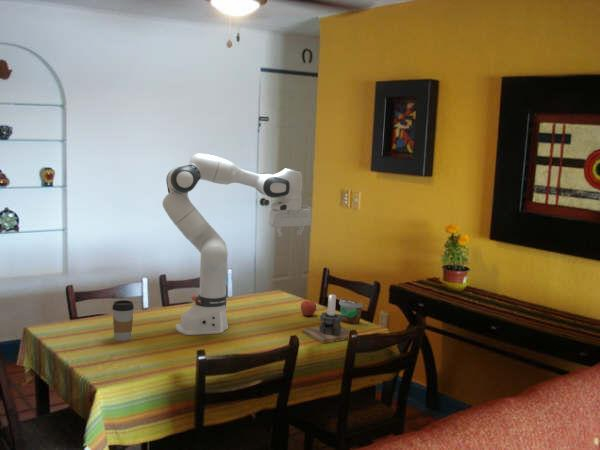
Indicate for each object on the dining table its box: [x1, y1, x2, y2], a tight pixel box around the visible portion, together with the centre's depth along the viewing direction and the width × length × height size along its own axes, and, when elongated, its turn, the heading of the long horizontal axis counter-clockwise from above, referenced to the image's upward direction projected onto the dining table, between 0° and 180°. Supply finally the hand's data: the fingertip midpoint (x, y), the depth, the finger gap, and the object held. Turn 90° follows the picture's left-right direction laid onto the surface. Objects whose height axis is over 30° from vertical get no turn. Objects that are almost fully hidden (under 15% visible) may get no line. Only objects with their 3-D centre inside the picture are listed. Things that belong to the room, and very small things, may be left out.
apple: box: [300, 300, 317, 317], centre depth 322 cm, size 7×7×8 cm
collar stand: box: [301, 311, 351, 344], centre depth 294 cm, size 18×16×8 cm
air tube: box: [326, 293, 337, 328], centre depth 294 cm, size 3×3×16 cm
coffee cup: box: [111, 299, 135, 342], centre depth 275 cm, size 8×8×15 cm
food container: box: [338, 297, 364, 325], centre depth 315 cm, size 12×6×10 cm, turn 47°
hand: (289, 236), depth 305 cm, fingers open, 8 cm apart
